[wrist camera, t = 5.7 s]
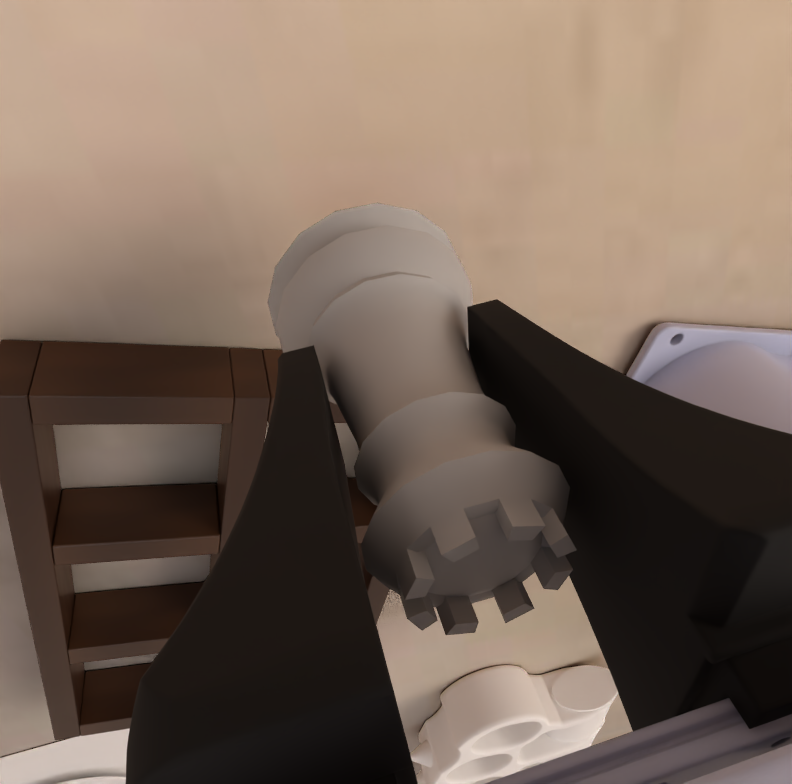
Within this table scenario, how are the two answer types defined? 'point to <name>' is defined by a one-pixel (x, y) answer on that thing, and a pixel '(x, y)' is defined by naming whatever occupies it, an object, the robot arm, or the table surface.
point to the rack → (125, 503)
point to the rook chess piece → (421, 417)
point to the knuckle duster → (511, 722)
